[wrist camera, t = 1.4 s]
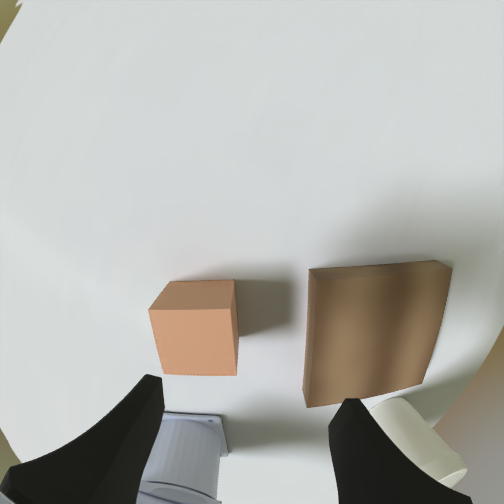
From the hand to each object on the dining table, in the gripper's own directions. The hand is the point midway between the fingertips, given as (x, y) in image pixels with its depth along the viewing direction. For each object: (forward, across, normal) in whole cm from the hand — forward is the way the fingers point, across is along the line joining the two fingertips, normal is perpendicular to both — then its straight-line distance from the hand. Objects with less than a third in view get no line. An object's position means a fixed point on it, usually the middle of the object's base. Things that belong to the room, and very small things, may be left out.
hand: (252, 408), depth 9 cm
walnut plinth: (+12, -11, +3) cm, 16 cm away
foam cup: (+10, -18, +15) cm, 26 cm away
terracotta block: (+11, +4, +3) cm, 12 cm away
